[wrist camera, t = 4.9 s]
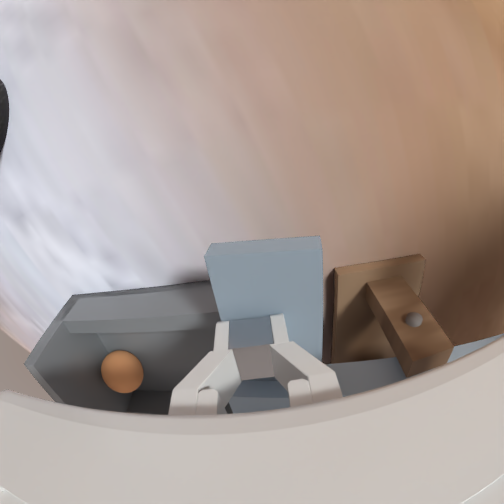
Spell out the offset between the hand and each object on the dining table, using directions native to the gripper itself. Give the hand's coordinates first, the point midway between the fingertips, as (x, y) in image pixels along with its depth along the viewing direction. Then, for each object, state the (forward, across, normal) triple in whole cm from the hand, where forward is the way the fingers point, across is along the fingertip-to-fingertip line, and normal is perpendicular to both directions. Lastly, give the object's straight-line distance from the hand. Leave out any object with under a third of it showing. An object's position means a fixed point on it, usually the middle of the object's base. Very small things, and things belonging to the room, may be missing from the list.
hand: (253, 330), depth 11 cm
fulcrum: (+5, -8, +6) cm, 11 cm away
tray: (+6, +7, +6) cm, 11 cm away
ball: (+4, +10, +6) cm, 13 cm away
